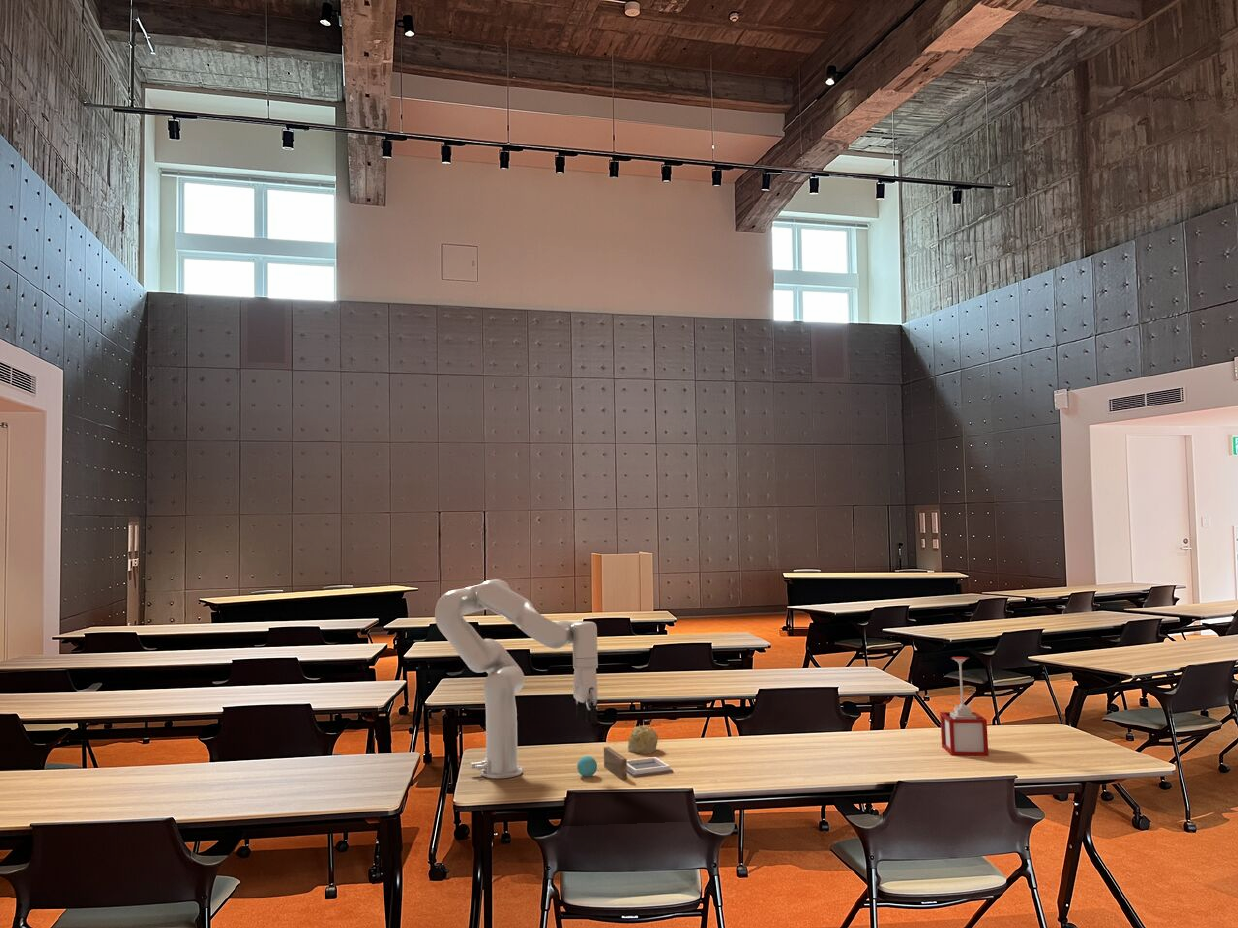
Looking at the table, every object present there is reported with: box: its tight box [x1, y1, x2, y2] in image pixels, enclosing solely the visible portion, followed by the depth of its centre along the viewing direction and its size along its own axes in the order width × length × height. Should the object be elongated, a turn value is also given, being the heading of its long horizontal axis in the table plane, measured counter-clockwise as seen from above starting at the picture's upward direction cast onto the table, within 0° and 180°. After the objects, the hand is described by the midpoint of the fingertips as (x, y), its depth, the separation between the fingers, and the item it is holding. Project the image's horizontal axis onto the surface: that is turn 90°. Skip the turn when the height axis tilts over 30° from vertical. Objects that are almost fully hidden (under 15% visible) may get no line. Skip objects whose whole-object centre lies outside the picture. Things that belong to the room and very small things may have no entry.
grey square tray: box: [627, 756, 674, 778], centre depth 262 cm, size 13×13×2 cm
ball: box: [576, 755, 598, 778], centre depth 255 cm, size 6×6×6 cm
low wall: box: [603, 746, 628, 781], centre depth 258 cm, size 2×16×6 cm, turn 20°
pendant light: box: [939, 656, 990, 757], centre depth 277 cm, size 11×11×30 cm
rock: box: [627, 725, 659, 755], centre depth 285 cm, size 10×11×10 cm
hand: (586, 720), depth 256 cm, fingers open, 9 cm apart
